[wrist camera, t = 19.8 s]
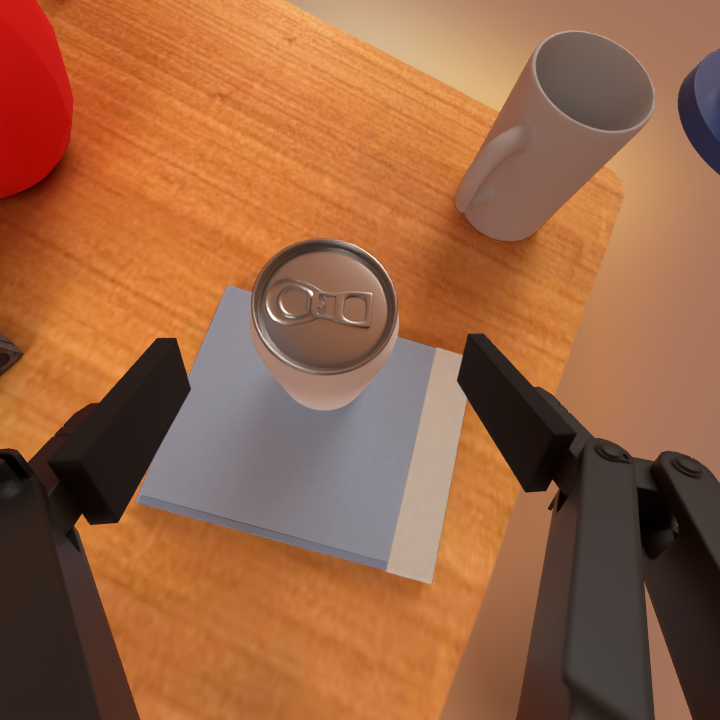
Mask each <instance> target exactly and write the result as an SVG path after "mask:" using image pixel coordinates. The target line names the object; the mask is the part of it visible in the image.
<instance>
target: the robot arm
mask: <svg viewBox="0 0 720 720" xmlns="http://www.w3.org/2000/svg"><path fill="white" fill-rule="evenodd" d="M457 382H458V384H459V386H460V387H461V389H462V391H463V392H464V394H465V395H466V397H467V399H468V400H469V402H470V403H471V405H472V407H473V408H474V410H475V412H476V413H477V415H478V416H479V418H480V420H481V421H482V423H483V424H484V426H485V428H486V429H487V431H488V433H489V434H490V436H491V437H492V439H493V441H494V442H495V444H496V446H497V447H498V449H499V450H500V452H501V454H502V455H503V457H504V458H505V460H506V462H507V463H508V465H509V467H510V468H511V470H512V471H513V473H514V475H515V476H516V478H517V479H518V481H519V483H520V484H521V486H522V488H523V489H524V491H525V492H539V491H546V490H547V488H548V486H549V485H550V483H551V481H552V479H553V481H554V482H555V483H556V485H557V486H558V488H559V490H558V492H557V493H556V495H555V497H554V499H553V500H552V502H551V504H550V506H549V507H548V509H549V510H552V509H553V512H552V519H551V524H550V530H549V535H548V541H547V547H546V553H545V559H544V565H543V570H542V576H541V581H540V587H539V593H538V599H537V605H536V610H535V616H534V621H533V627H532V634H531V639H530V645H529V650H528V656H527V662H526V667H525V673H524V679H523V685H522V690H521V696H520V702H519V708H518V713H517V717H516V720H655V717H654V704H653V692H652V678H651V665H650V653H649V640H648V628H647V616H646V615H647V614H646V602H645V589H644V582H645V584H646V587H647V590H648V593H649V596H650V599H651V602H652V605H653V608H654V610H655V613H656V616H657V619H658V621H659V624H660V628H661V630H662V633H663V636H664V639H665V642H666V645H667V647H668V650H669V653H670V656H671V659H672V662H673V665H674V667H675V670H676V673H677V676H678V679H679V682H680V685H681V687H682V690H683V693H684V696H685V699H686V702H687V705H688V707H689V710H690V713H691V716H692V719H693V720H720V483H719V482H718V481H717V479H716V478H715V476H714V475H713V474H712V473H711V471H710V470H709V469H708V468H707V467H705V466H704V465H702V464H701V463H700V462H698V461H697V460H695V459H693V458H691V457H689V456H687V455H684V454H681V453H678V452H671V451H665V452H662V453H661V454H660V455H659V457H658V458H657V459H656V460H655V461H650V460H644V459H639V458H634V457H632V456H631V455H630V454H629V453H628V452H627V451H626V450H624V449H623V448H622V447H620V446H619V445H617V444H615V443H613V442H611V441H608V440H604V439H600V438H594V437H593V436H592V435H591V434H590V433H589V432H588V431H587V430H586V429H585V428H584V427H583V426H582V425H581V424H580V423H579V421H577V420H576V419H575V418H574V416H573V415H571V413H568V410H567V409H566V408H565V407H564V406H562V405H561V403H560V402H559V401H558V400H557V399H556V398H555V397H554V396H553V395H552V394H550V393H549V392H547V391H545V390H544V389H542V388H541V387H533V386H532V385H531V384H530V383H529V382H528V381H527V380H526V378H525V377H524V376H523V375H522V374H521V373H520V372H519V371H518V370H517V369H516V368H515V367H514V366H513V365H512V364H511V362H510V361H509V360H508V359H507V358H506V357H505V356H504V355H503V354H502V353H501V352H500V351H499V350H498V349H497V347H496V346H495V345H494V344H493V343H492V342H491V341H490V340H489V339H488V338H487V337H486V336H485V335H484V334H468V336H467V341H466V345H465V349H464V353H463V357H462V361H461V365H460V369H459V373H458V377H457ZM190 391H191V387H190V384H189V380H188V377H187V373H186V370H185V367H184V363H183V360H182V356H181V353H180V350H179V346H178V343H177V339H176V338H157V339H156V340H155V341H154V342H153V343H152V344H151V346H150V347H149V348H148V349H147V350H146V351H145V352H144V353H143V355H142V356H141V357H140V358H139V359H138V360H137V361H136V362H135V364H134V365H133V366H132V367H131V368H130V369H129V370H128V371H127V372H126V374H125V375H124V376H123V377H122V378H121V379H120V380H119V381H118V383H117V384H116V385H115V386H114V387H113V388H112V389H111V390H110V392H109V393H108V394H107V395H106V396H105V397H104V398H103V399H102V400H101V402H100V403H90V404H89V405H87V406H86V407H84V408H83V409H81V410H79V411H78V412H76V413H75V414H74V415H73V416H72V417H71V418H70V419H69V420H68V421H67V422H66V423H65V424H64V427H61V428H60V429H59V430H58V432H57V433H56V434H55V436H54V437H52V438H51V439H50V440H49V441H48V442H47V443H46V444H45V445H44V446H43V447H42V448H41V449H40V450H39V451H38V453H37V454H36V455H35V456H34V457H33V458H32V459H31V460H30V461H29V462H28V463H27V462H26V461H25V459H24V458H23V457H22V455H21V454H20V453H19V452H18V451H17V450H14V449H9V448H8V449H0V720H140V718H139V715H138V712H137V709H136V706H135V703H134V700H133V697H132V693H131V690H130V687H129V684H128V681H127V678H126V675H125V672H124V669H123V666H122V663H121V660H120V657H119V654H118V651H117V648H116V645H115V642H114V639H113V636H112V633H111V630H110V627H109V624H108V621H107V618H106V614H105V611H104V608H103V605H102V602H101V599H100V596H99V593H98V590H97V587H96V584H95V581H94V578H93V575H92V572H91V569H90V566H89V563H88V560H87V557H86V554H85V551H84V548H83V545H82V542H81V539H80V535H79V532H78V531H77V529H76V528H75V527H74V525H75V523H76V522H77V520H78V519H79V517H80V516H81V514H83V515H84V517H85V518H86V519H87V521H88V522H89V524H90V525H96V524H109V523H118V522H119V520H120V518H121V516H122V515H123V513H124V511H125V509H126V507H127V505H128V504H129V502H130V500H131V498H132V496H133V495H134V493H135V491H136V489H137V487H138V485H139V484H140V482H141V480H142V478H143V476H144V474H145V473H146V471H147V469H148V467H149V465H150V464H151V462H152V460H153V458H154V456H155V454H156V453H157V451H158V449H159V447H160V445H161V443H162V442H163V440H164V438H165V436H166V434H167V433H168V431H169V429H170V427H171V425H172V423H173V422H174V420H175V418H176V416H177V414H178V413H179V411H180V409H181V407H182V405H183V403H184V402H185V400H186V398H187V396H188V394H189V392H190ZM677 524H678V526H677Z"/></svg>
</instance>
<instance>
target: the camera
mask: <svg viewBox="0 0 720 720" xmlns="http://www.w3.org/2000/svg"><path fill="white" fill-rule="evenodd" d="M22 355H23V353H22V352H21V351H20V350H19V348H18V347H17V346H15V345H14V344H13V343H12V342H11V341H9V340H8V339H7V338H6V337H5V336H3V335H2V334H1V333H0V374H1V373H2V372H3V371H5V370H6V369H7V368H8V367H9V366H10V365H11V364H13V363H14V362H15V361H16V360H17V359H18V358H20V357H21V356H22Z"/></svg>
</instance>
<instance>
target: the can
mask: <svg viewBox="0 0 720 720" xmlns="http://www.w3.org/2000/svg"><path fill="white" fill-rule="evenodd" d="M249 326H250V333H251V337H252V340H253V343H254V346H255V349H256V351H257V353H258V355H259V356H260V358H261V360H262V361H263V363H264V364H265V365H266V367H267V368H268V369H269V371H270V372H271V373H272V374H273V376H274V377H275V378H276V379H277V381H278V382H279V383H280V384H281V385H282V387H283V388H284V389H285V390H286V391H287V392H288V394H289V395H290V396H291V397H292V398H293V399H295V400H296V401H297V402H298V403H300V404H302V405H303V406H305V407H308V408H311V409H314V410H322V411H327V410H334V409H338V408H341V407H343V406H345V405H347V404H349V403H350V402H352V401H353V400H354V399H355V398H356V397H357V396H358V395H359V394H360V393H361V392H362V391H363V390H364V389H365V388H366V386H367V385H368V384H369V383H370V382H371V381H372V379H373V378H374V377H375V376H376V375H377V373H378V372H379V371H380V370H381V368H382V367H383V366H384V364H385V363H386V361H387V360H388V358H389V357H390V355H391V353H392V351H393V348H394V346H395V343H396V340H397V335H398V329H399V315H398V301H397V295H396V291H395V288H394V285H393V282H392V280H391V278H390V276H389V275H388V273H387V271H386V270H385V269H384V267H383V266H382V265H381V264H380V263H379V262H378V261H377V260H376V259H375V258H374V257H373V256H372V255H371V254H369V253H368V252H366V251H365V250H363V249H361V248H360V247H358V246H356V245H353V244H351V243H348V242H345V241H341V240H336V239H327V238H319V239H310V240H305V241H301V242H298V243H295V244H293V245H290V246H288V247H286V248H285V249H283V250H281V251H280V252H278V253H277V254H276V255H275V256H273V257H272V258H271V259H270V260H269V261H268V262H267V263H266V265H265V266H264V267H263V269H262V270H261V272H260V273H259V275H258V277H257V279H256V281H255V284H254V287H253V291H252V296H251V307H250V314H249Z"/></svg>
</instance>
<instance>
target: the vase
mask: <svg viewBox="0 0 720 720" xmlns="http://www.w3.org/2000/svg"><path fill="white" fill-rule="evenodd" d="M72 113H73V95H72V91H71V87H70V83H69V79H68V76H67V72H66V69H65V66H64V62H63V59H62V56H61V52H60V49H59V45H58V42H57V39H56V35H55V32H54V28H53V26H52V25H51V23H50V22H49V20H48V19H47V17H46V15H45V14H44V12H43V11H42V9H41V8H40V6H39V4H38V3H37V1H36V0H0V199H2V198H5V197H8V196H11V195H14V194H16V193H19V192H21V191H24V190H26V189H28V188H31V187H32V186H34V185H35V184H36V183H38V182H39V181H41V180H42V179H44V178H45V177H46V176H47V175H48V174H49V173H50V172H51V170H52V169H53V168H54V167H55V166H56V165H57V164H58V162H59V161H60V160H61V158H62V156H63V154H64V152H65V150H66V148H67V146H68V144H69V142H70V134H71V126H72Z"/></svg>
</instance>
